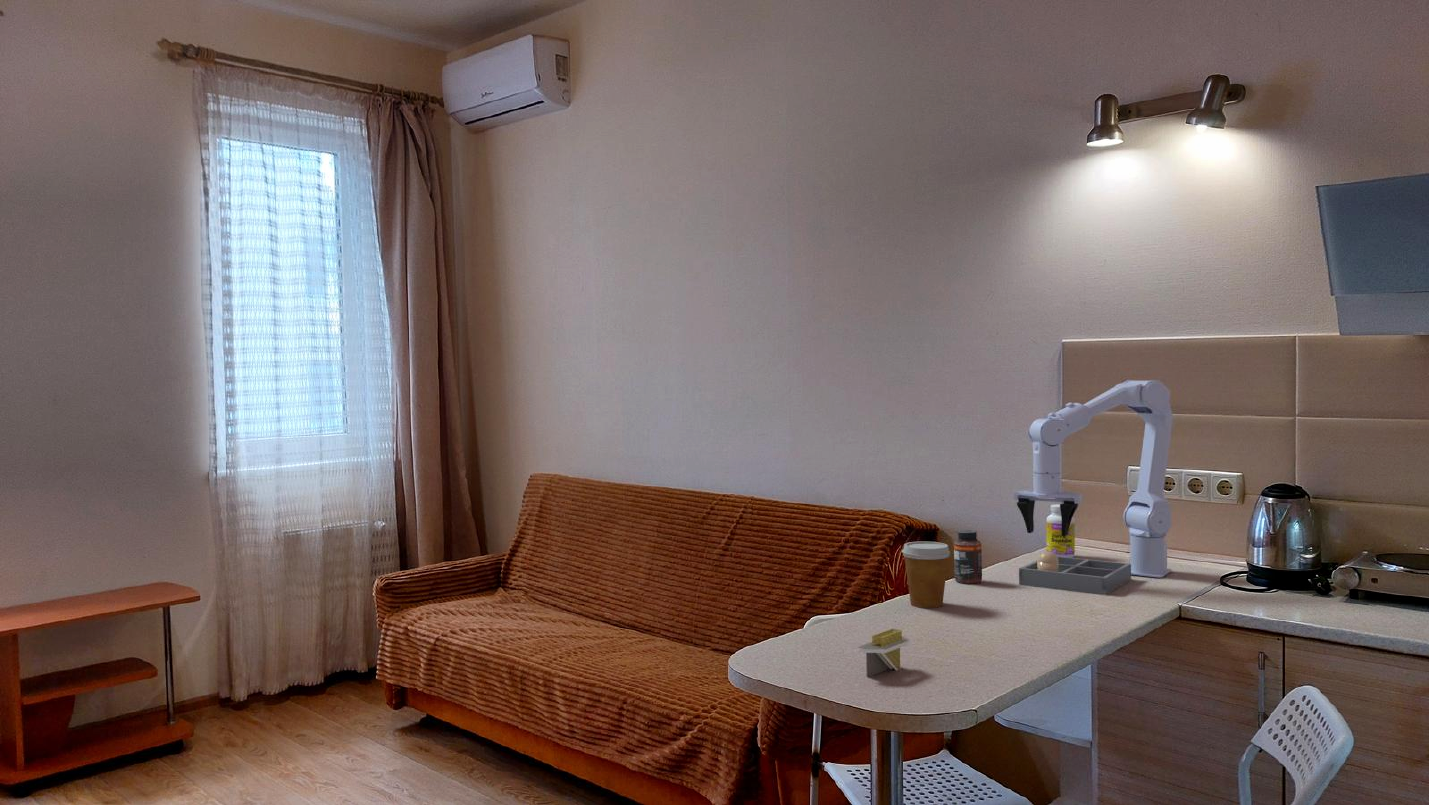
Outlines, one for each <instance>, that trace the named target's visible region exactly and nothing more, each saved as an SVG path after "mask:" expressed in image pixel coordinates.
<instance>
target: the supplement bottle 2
mask: <svg viewBox="0 0 1429 805" xmlns="http://www.w3.org/2000/svg"><path fill="white" fill-rule="evenodd" d="M1060 504H1061V503H1059V504H1051V505H1050V511H1051V514H1049V515H1048V516H1047V517H1046V550H1045V551H1050V552H1053V553H1054V554H1055V555H1056V556H1059V557H1069V558H1075V552H1076V550H1075V548H1076V547H1075V545H1076V544H1075V543H1076V542H1075V541H1076V540H1075V535H1076V534H1075V533H1076V532H1075V531H1076V527H1075V526H1076V520H1075V518H1074V516H1073V517H1072V520H1071V523H1070V526H1069V531H1068V535H1066V536H1062V532H1061V529H1062V518H1061V510H1060Z"/></svg>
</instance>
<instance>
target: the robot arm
mask: <svg viewBox="0 0 1429 805" xmlns="http://www.w3.org/2000/svg"><path fill="white" fill-rule="evenodd" d="M1170 399H1171V391H1170V390H1169V389H1168V388H1167V386H1166V385H1165V384H1164V383H1163V382H1162V381H1161V380H1158V379H1151V380H1134V379H1129V380H1128V379H1127V380H1126V381H1124V382H1122V383H1117V384H1116V385H1114V386H1113V387H1112V388H1110V389H1108V390H1107V391H1104V392H1103V393H1102V394H1100V395H1097V396H1096V397H1094V398H1093V399H1091V400H1089V401H1088V402H1085V403H1084V404H1081V403H1080V402H1068V403H1066V404H1065V405H1064V406H1065V407H1064V408H1062V409H1060V410H1058V411H1056V412H1050V413H1048V414H1047V418H1037V419H1035V420H1034V421H1033V422H1032V424H1030V427H1029V430H1027V433H1026V434H1027V437H1028V439H1029V441H1030V442H1031V443H1032V460H1033V461H1032V463H1033V466H1032V467H1033V471H1032V472H1033V477H1032V478H1033V479H1032V480H1033V490H1021V489H1020V490H1018V489H1017V490H1014V491H1013V500H1015V501H1016V506H1017V508H1018V509H1019V511H1020V513H1021V515H1022V518H1023V521H1024V523H1025V527H1026V531H1027V534H1032V533H1034V530H1035V529H1034V528H1035V524H1034V523H1035V522H1034V515H1035V505H1036V504H1035V503H1036V501H1037V502H1053V503H1059V504H1060V510H1061V518H1062V529H1061V532H1062V536H1066V535H1068V531H1069V526H1070V523H1071V520H1072V517H1073V518H1074V515H1075V513H1076V511H1077V508H1078V506H1079V504H1082V502H1083V501H1082V500H1083V498H1082V497H1083V494H1082V493H1071V492H1063V491H1062V490H1061V489H1062V488H1061V485H1062V484H1061V444H1062V443H1063V442H1064V441H1065V439H1066V437H1069V436H1070V435H1072V434H1074V433H1077V431H1080V430H1082V429H1084V428H1085V427H1088V426H1089V425H1090V424H1091V420H1092V418H1093V417H1096V416H1098V415H1101V414H1102V413H1105V412H1107V411H1110V410H1112V409H1115V408H1116V407H1118V406H1120V405H1124V407H1126V408H1127V409H1129V410H1131V411H1133V412H1134V413H1136V414H1137V415H1138V416H1139V417H1140V418H1141V419H1142V420H1143V422H1144V423H1145V425H1144V426H1145V427H1144V432H1143V433H1144V434H1143V442H1142V450H1141V457H1140V464H1139V472H1138V473H1139V474H1138V479H1137V487H1136V491H1135V492H1133V494H1131V495H1130V496H1129V499H1128V504H1127V506H1126V507H1125V509H1124V511H1123V514H1122V519H1123V523H1124V525H1125V526H1126V527H1127V528H1128V534H1129V559H1130V560H1129V564H1131V576H1138V577H1140V576H1142V577H1148V578H1149V577H1150V578H1158V579H1162V578H1163V577H1165V576H1167V575H1168V574H1170V573H1171V572H1172V571H1173V569H1172V568H1168V543H1167V540H1166V537H1167V533H1168V532H1169V531H1170V530H1171V527H1172V523H1173V518H1172V515H1171V503H1170V501H1168V498H1167V497H1166V496H1165V495H1164V490H1165V489H1164V488H1165V482H1166V474H1167V468H1168V460H1169V452H1170V444H1171V437H1172V429H1173V428H1172V427H1173V420H1174V416H1173V411H1172V407H1171V403H1170Z"/></svg>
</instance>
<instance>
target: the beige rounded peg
mask: <svg viewBox="0 0 1429 805" xmlns="http://www.w3.org/2000/svg"><path fill="white" fill-rule="evenodd" d="M1036 561H1037V570H1045V571H1054V572H1059V561H1058V557H1057V556H1056V555H1055V554H1054V553H1053V552H1050V551H1047V550H1044V551H1042V552H1041V553H1040V554H1039V555H1038V556H1037V560H1036Z"/></svg>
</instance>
